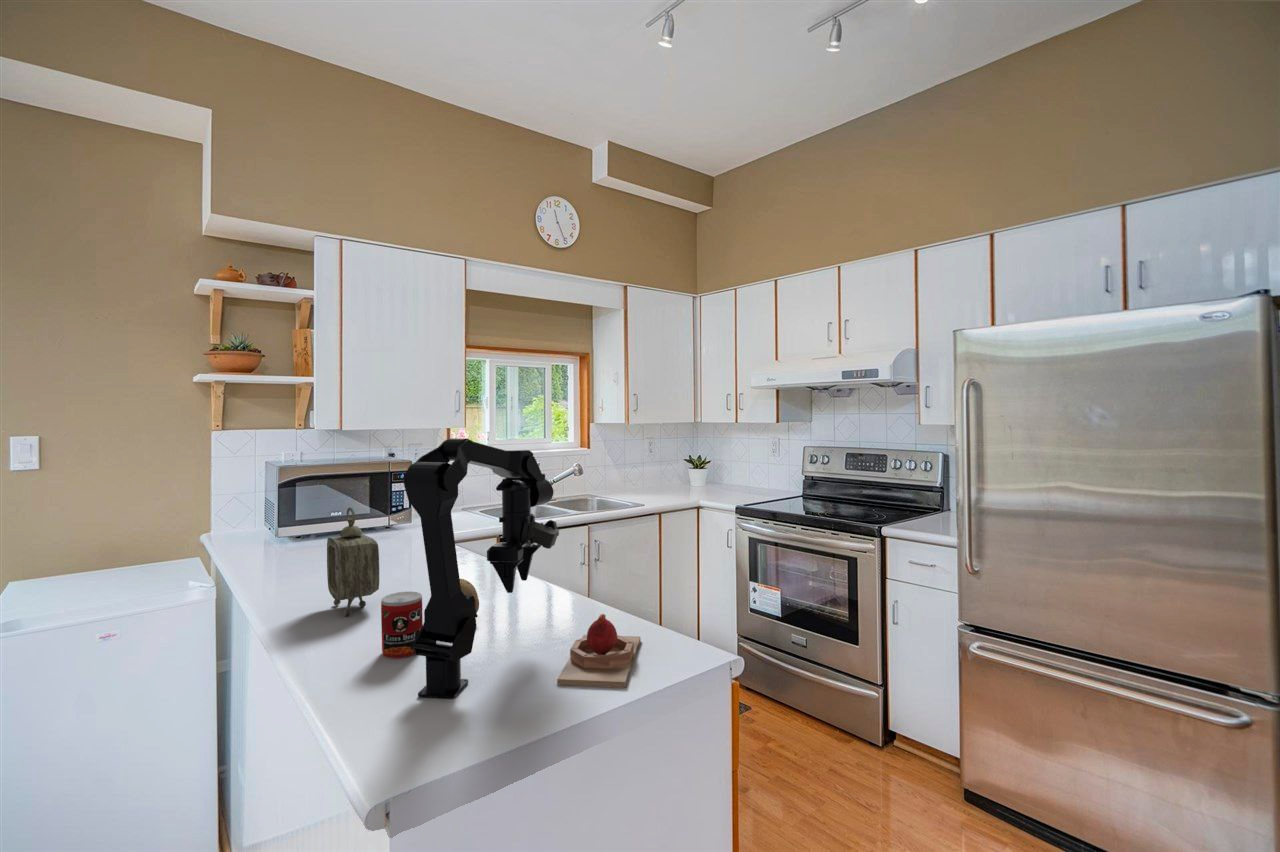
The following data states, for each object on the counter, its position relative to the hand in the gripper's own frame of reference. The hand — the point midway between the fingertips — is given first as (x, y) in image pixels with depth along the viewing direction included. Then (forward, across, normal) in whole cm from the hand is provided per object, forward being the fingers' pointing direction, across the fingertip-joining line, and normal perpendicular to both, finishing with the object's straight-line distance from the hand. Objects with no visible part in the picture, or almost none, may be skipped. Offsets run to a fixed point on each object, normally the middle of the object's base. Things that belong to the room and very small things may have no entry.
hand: (517, 586), depth 127 cm
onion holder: (+12, -7, -19) cm, 24 cm away
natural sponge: (+12, +12, +18) cm, 25 cm away
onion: (+11, -7, -19) cm, 23 cm away
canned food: (+12, -6, +22) cm, 26 cm away
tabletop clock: (+12, +19, +48) cm, 53 cm away
